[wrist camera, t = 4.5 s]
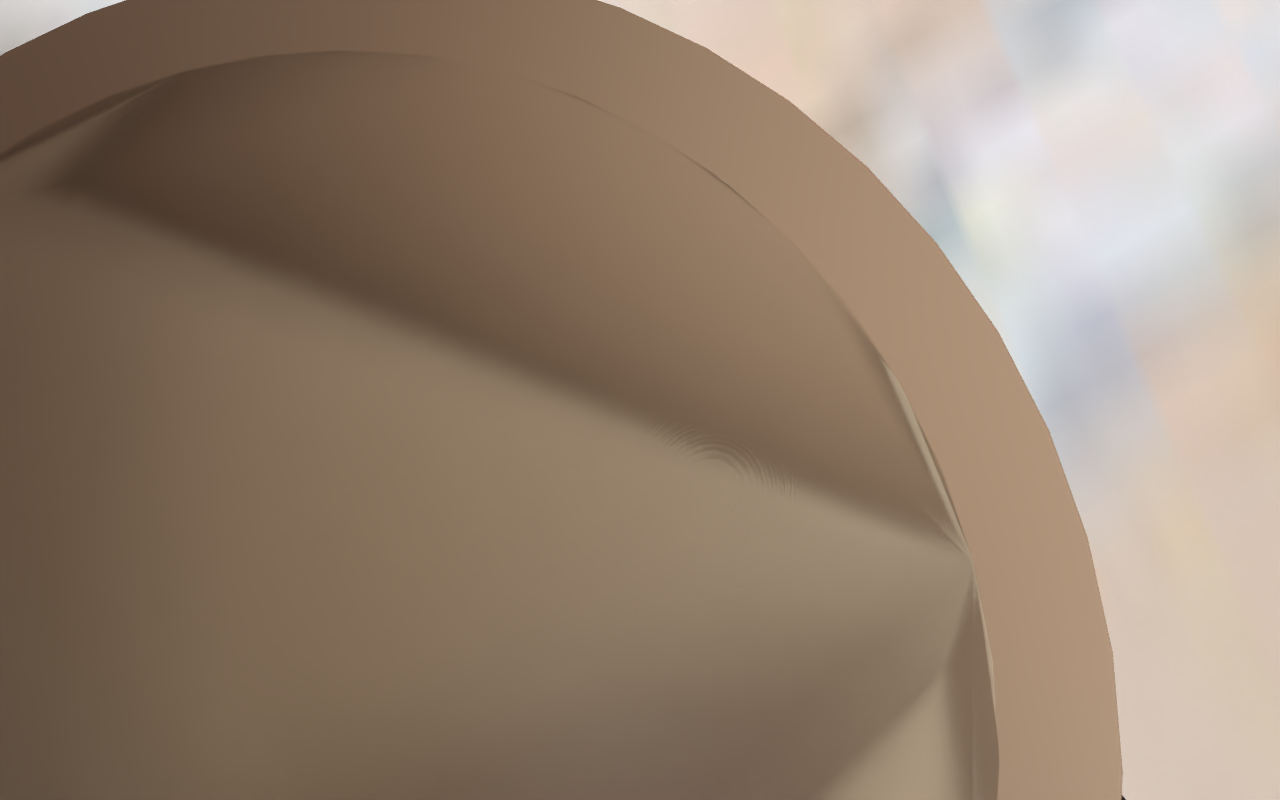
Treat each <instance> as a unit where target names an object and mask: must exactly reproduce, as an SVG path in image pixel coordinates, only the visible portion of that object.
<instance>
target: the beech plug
mask: <svg viewBox="0 0 1280 800" xmlns="http://www.w3.org/2000/svg"><path fill="white" fill-rule="evenodd" d="M1122 775H1123V771H1122V759H1121V747H1120V735H1119V723H1118V711H1117V699H1116V687H1115V675H1114V663H1113V652H1112V647H1111V643H1110V638H1109V634H1108V629H1107V625H1106V620H1105V615H1104V611H1103V606H1102V602H1101V597H1100V592H1099V588H1098V583H1097V579H1096V574H1095V569H1094V565H1093V560H1092V556H1091V551H1090V546H1089V542H1088V538H1087V535H1086V532H1085V529H1084V526H1083V524H1082V521H1081V518H1080V515H1079V513H1078V510H1077V507H1076V504H1075V501H1074V499H1073V496H1072V493H1071V490H1070V487H1069V485H1068V482H1067V479H1066V476H1065V474H1064V471H1063V468H1062V465H1061V462H1060V460H1059V457H1058V454H1057V451H1056V449H1055V446H1054V443H1053V440H1052V437H1051V435H1050V432H1049V429H1048V428H1047V426H1046V424H1045V422H1044V420H1043V418H1042V416H1041V414H1040V412H1039V410H1038V408H1037V406H1036V404H1035V402H1034V400H1033V398H1032V396H1031V395H1030V393H1029V391H1028V389H1027V387H1026V385H1025V383H1024V381H1023V379H1022V377H1021V375H1020V373H1019V371H1018V369H1017V367H1016V365H1015V363H1014V362H1013V360H1012V358H1011V356H1010V354H1009V352H1008V350H1007V348H1006V346H1005V344H1004V342H1003V340H1002V338H1001V336H1000V334H999V332H998V331H997V329H996V328H995V326H994V325H993V324H992V322H991V321H990V319H989V318H988V316H987V315H986V314H985V312H984V311H983V309H982V308H981V306H980V305H979V303H978V302H977V301H976V299H975V298H974V296H973V295H972V293H971V292H970V290H969V289H968V288H967V286H966V285H965V283H964V282H963V280H962V279H961V277H960V276H959V275H958V273H957V272H956V270H955V269H954V267H953V266H952V265H951V263H950V262H949V260H948V259H947V257H946V256H945V254H944V253H943V252H942V250H941V249H940V247H939V246H938V244H937V243H936V242H935V241H934V240H933V239H932V238H931V236H930V235H929V234H928V233H927V232H926V231H925V230H924V229H923V228H922V227H921V225H920V224H919V223H918V222H917V221H916V220H915V219H914V218H913V217H912V216H911V214H910V213H909V212H908V211H907V210H906V209H905V208H904V207H903V206H902V205H901V203H900V202H899V201H898V200H897V199H896V198H895V197H894V196H893V195H892V194H891V192H890V191H889V190H888V189H887V188H886V187H885V186H884V185H883V184H882V183H881V181H880V180H879V179H878V178H877V177H876V176H875V175H874V174H873V173H872V172H871V170H870V169H869V168H868V167H867V166H866V165H865V164H863V163H862V162H861V161H860V160H859V159H857V158H856V157H855V156H854V155H853V154H852V153H850V152H849V151H848V150H847V149H846V148H844V147H843V146H842V145H841V144H840V143H838V142H837V141H836V140H835V139H834V138H833V137H831V136H830V135H829V134H828V133H827V132H825V131H824V130H823V129H822V128H821V127H820V126H818V125H817V124H816V123H815V122H814V121H812V120H811V119H810V118H809V117H808V116H806V115H805V114H804V113H803V112H802V111H801V110H799V109H798V108H797V107H796V106H795V105H793V104H792V103H791V102H790V101H788V100H787V99H785V98H784V97H782V96H781V95H779V94H778V93H776V92H774V91H773V90H771V89H770V88H768V87H767V86H765V85H763V84H762V83H760V82H759V81H757V80H756V79H754V78H752V77H751V76H749V75H748V74H746V73H745V72H743V71H742V70H740V69H738V68H737V67H735V66H734V65H732V64H731V63H729V62H727V61H726V60H724V59H723V58H721V57H720V56H718V55H717V54H715V53H713V52H712V51H710V50H709V49H707V48H705V47H703V46H701V45H699V44H697V43H694V42H692V41H690V40H688V39H686V38H684V37H682V36H679V35H677V34H675V33H673V32H671V31H669V30H667V29H664V28H662V27H660V26H658V25H656V24H654V23H652V22H649V21H647V20H645V19H643V18H641V17H639V16H637V15H634V14H632V13H630V12H628V11H626V10H624V9H622V8H619V7H616V6H613V5H610V4H607V3H603V2H600V1H597V0H126V1H123V2H120V3H117V4H114V5H111V6H108V7H105V8H102V9H99V10H96V11H93V12H90V13H87V14H85V15H83V16H81V17H79V18H77V19H75V20H73V21H71V22H68V23H66V24H64V25H62V26H60V27H58V28H56V29H54V30H52V31H50V32H48V33H46V34H43V35H41V36H39V37H37V38H35V39H33V40H31V41H29V42H27V43H25V44H23V45H21V46H19V47H16V48H14V49H12V50H10V51H8V52H6V53H4V54H3V55H1V56H0V800H1121V795H1122Z"/></svg>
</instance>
